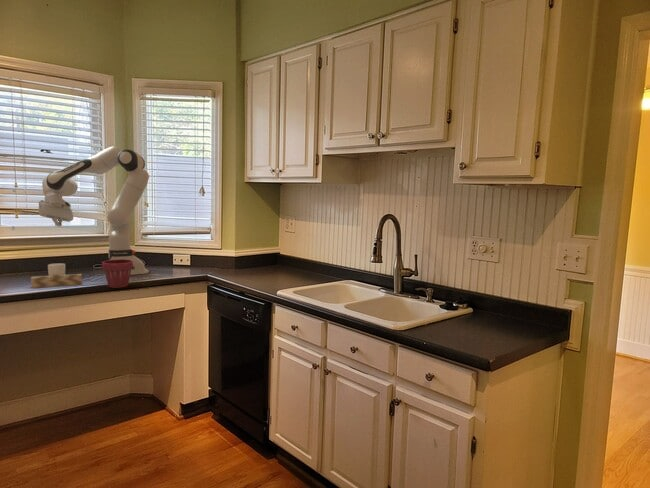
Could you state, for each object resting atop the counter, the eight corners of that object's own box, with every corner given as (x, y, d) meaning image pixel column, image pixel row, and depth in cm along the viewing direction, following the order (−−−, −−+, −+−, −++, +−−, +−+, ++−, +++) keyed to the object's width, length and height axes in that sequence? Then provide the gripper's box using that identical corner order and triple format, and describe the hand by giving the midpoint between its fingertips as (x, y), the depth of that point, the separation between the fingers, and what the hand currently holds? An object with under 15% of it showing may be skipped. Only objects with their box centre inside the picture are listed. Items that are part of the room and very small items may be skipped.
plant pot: (102, 289, 228) (101, 263, 227) (103, 284, 241) (102, 259, 239) (133, 287, 234) (133, 262, 232) (132, 282, 246) (132, 258, 245)
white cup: (48, 285, 234) (47, 266, 233) (48, 282, 241) (48, 263, 240) (66, 284, 238) (65, 265, 237) (66, 281, 245) (65, 263, 244)
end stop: (81, 282, 243) (81, 273, 243) (82, 284, 239) (81, 274, 239) (32, 285, 232) (31, 276, 232) (31, 287, 228) (31, 277, 228)
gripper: (42, 197, 255) (46, 220, 252) (73, 205, 274) (77, 226, 271) (34, 201, 256) (38, 224, 253) (64, 209, 276) (69, 230, 272)
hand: (58, 225), depth 262 cm, fingers closed
